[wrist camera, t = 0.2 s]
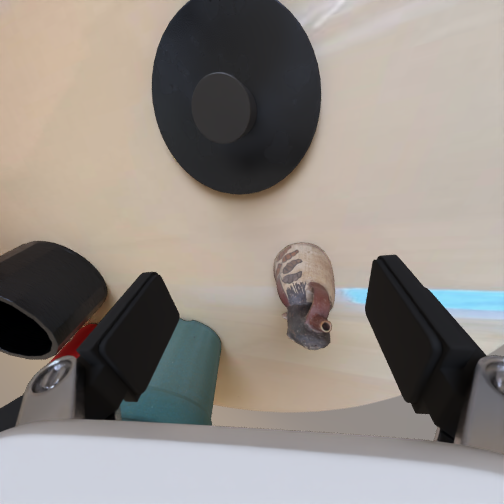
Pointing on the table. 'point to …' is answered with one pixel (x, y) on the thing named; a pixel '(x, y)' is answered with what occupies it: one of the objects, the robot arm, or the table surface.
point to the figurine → (306, 293)
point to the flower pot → (181, 380)
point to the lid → (236, 92)
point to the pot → (45, 298)
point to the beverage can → (75, 342)
